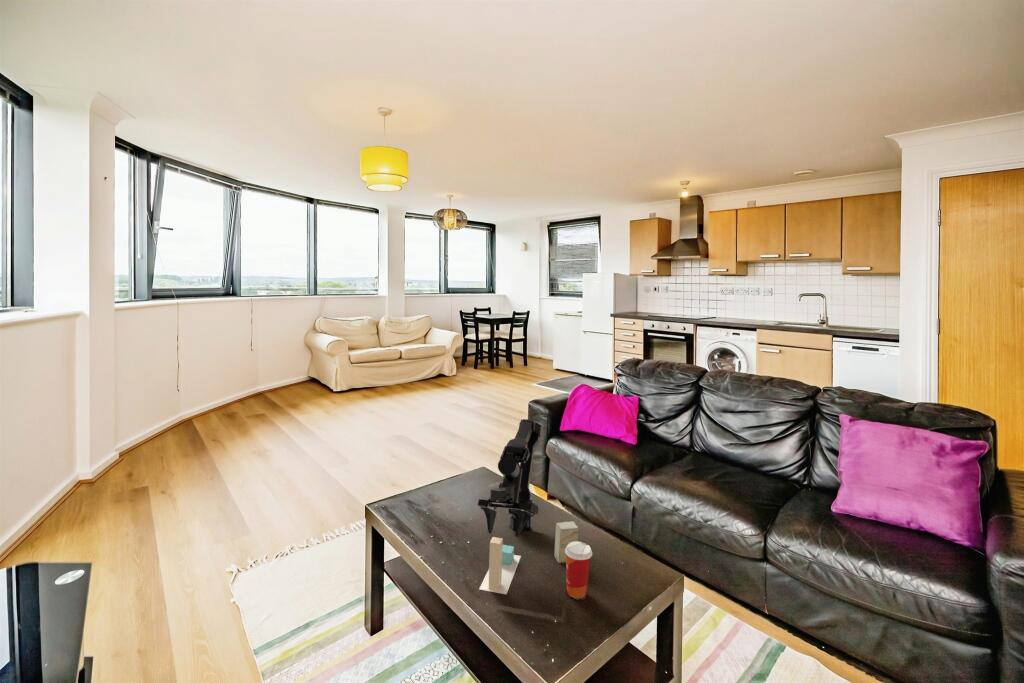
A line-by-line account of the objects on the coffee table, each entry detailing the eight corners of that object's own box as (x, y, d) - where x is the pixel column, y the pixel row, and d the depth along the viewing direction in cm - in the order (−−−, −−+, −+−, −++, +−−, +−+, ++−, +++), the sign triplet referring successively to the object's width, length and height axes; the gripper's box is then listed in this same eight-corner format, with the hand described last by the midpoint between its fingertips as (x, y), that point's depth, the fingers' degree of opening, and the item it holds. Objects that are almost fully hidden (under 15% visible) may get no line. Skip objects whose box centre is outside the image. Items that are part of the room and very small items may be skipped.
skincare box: (558, 566, 146) (560, 529, 145) (553, 558, 151) (555, 522, 149) (577, 563, 148) (579, 527, 147) (571, 555, 152) (573, 520, 151)
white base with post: (496, 554, 151) (498, 510, 150) (521, 558, 150) (522, 514, 148) (478, 592, 133) (480, 542, 131) (506, 597, 131) (507, 547, 129)
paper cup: (572, 581, 139) (574, 537, 137) (595, 593, 134) (597, 547, 132) (557, 594, 133) (559, 548, 131) (580, 606, 128) (583, 559, 126)
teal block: (501, 556, 149) (501, 544, 149) (513, 558, 148) (514, 546, 148) (498, 563, 145) (498, 551, 145) (510, 565, 144) (511, 553, 144)
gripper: (473, 474, 146) (463, 527, 139) (527, 477, 137) (518, 533, 130) (490, 483, 154) (481, 533, 147) (542, 486, 146) (535, 540, 138)
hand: (502, 535), depth 140 cm, fingers open, 9 cm apart
